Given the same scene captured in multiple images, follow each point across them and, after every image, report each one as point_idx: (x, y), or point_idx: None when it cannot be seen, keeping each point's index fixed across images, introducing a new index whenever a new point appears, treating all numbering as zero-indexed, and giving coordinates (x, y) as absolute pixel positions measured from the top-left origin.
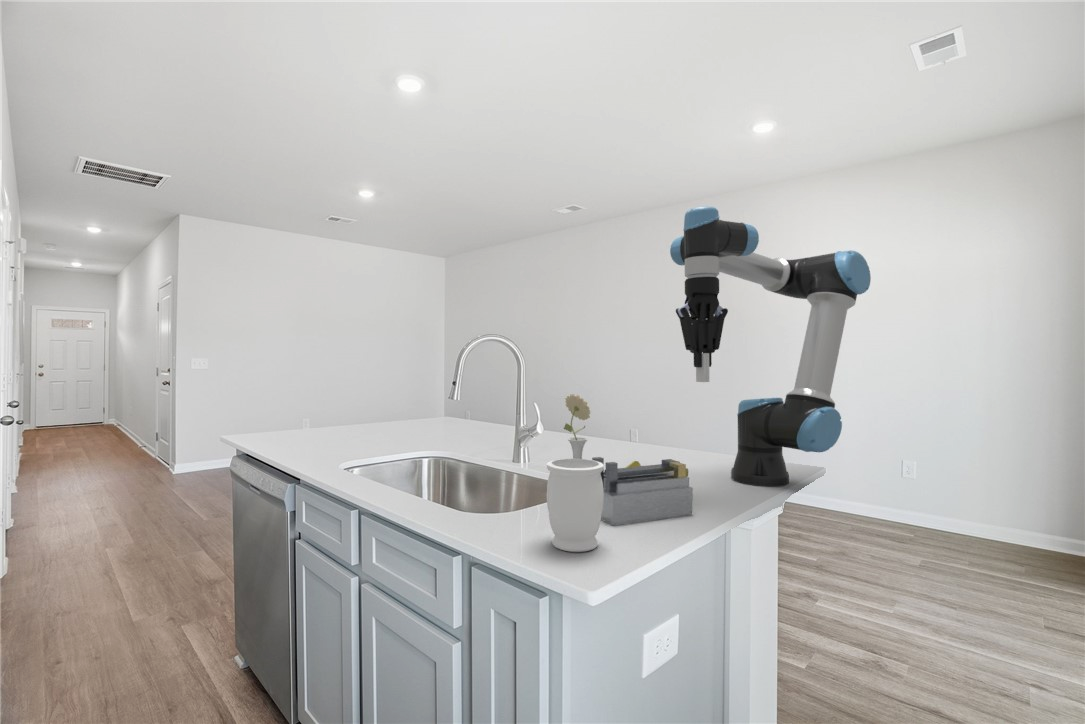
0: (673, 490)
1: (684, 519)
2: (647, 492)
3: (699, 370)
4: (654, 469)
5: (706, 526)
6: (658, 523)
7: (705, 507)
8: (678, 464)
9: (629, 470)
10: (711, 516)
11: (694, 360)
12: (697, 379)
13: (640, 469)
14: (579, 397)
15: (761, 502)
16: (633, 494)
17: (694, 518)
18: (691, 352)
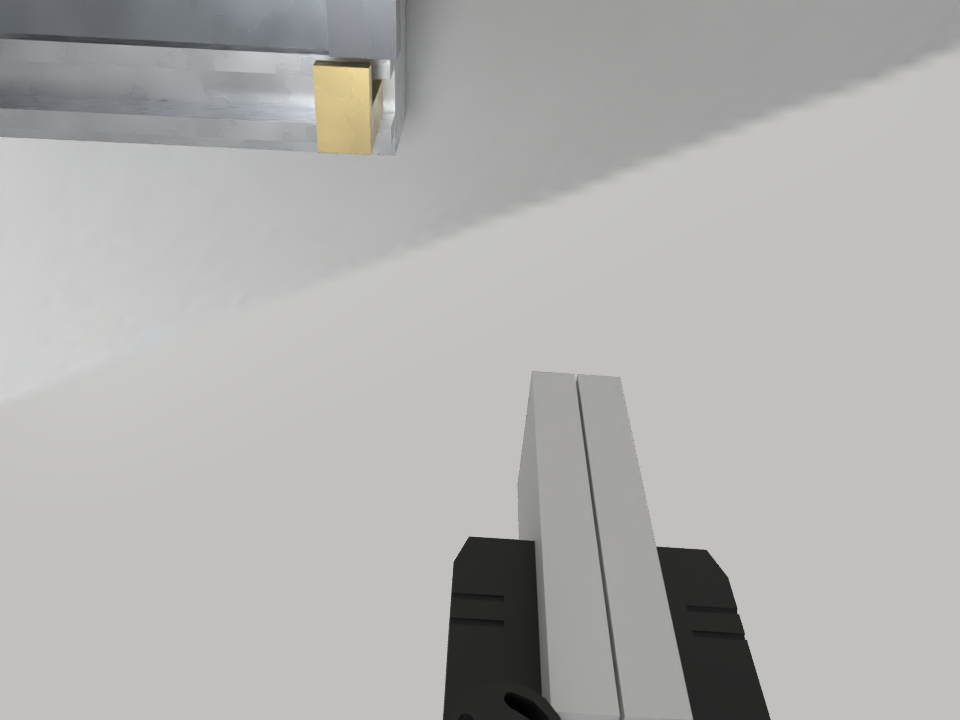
0: (281, 149)
1: None
2: (130, 140)
3: (528, 529)
4: (214, 42)
5: (364, 246)
6: None
7: (545, 41)
8: (329, 138)
9: (42, 11)
10: (468, 161)
11: (449, 635)
12: (531, 408)
13: (119, 20)
14: None
15: (849, 90)
16: (51, 137)
17: None
18: (467, 701)
